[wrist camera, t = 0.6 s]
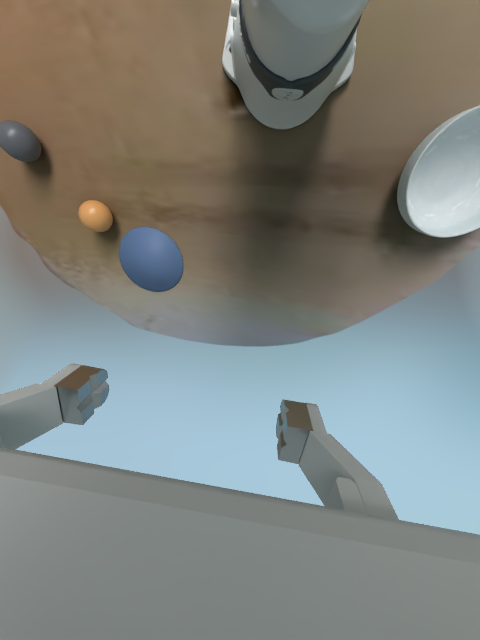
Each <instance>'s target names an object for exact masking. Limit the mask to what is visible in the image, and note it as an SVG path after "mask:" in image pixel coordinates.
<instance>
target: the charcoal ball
mask: <svg viewBox="0 0 480 640" xmlns="http://www.w3.org/2000/svg"><path fill="white" fill-rule="evenodd" d="M0 146H1V147H2V148H3V149H4V150H5V151H6V152H7V153H8V154H9V155H10V156H12V157H13V158H15V159H17V160H20V161H24V162H32V161H35V160H37V159H38V158H39V157H40V155H41V145H40V142H39V140H38V138H37V137H36V135H35V134H34V133H33V132H32V131H31V130H30V129H29V128H28V127H26V126H25V125H23V124H21V123H19V122H16V121H11V120H6V121H3V122H1V123H0Z"/></svg>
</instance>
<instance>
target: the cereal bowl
mask: <svg viewBox="0 0 480 640" xmlns="http://www.w3.org/2000/svg"><path fill="white" fill-rule="evenodd" d="M397 190H398V191H397V203H398V208H399V211H400V213H401V215H402V217H403V219H404V220H405V221H406V223H407V224H408V225H409V226H411V227H412V228H413V229H415V230H416V231H418V232H420V233H423V234H425V235H428V236H433V237H440V238H445V237H455V236H459V235H463V234H466V233H469V232H471V231H474V230H476V229H478V228H480V105H479V106H477V107H473V108H471V109H468V110H465V111H464V112H461V113H459V114H457V115H456V116H454V117H452V118H450V119H449V120H447V121H445V122H444V123H443V124H441V125H440V126H438V127H437V128H436V129H435V130H434V131H432V132H431V133H430V134H429V135H428V136H427V137H426V138H425V139H424V140H423V141H422V142H421V143H420V145H419V146H418V147H417V148H416V149H415V151H414V152H413V153H412V155H411V156H410V158H409V160H408V161H407V163H406V165H405V167H404V169H403V171H402V174H401V177H400V181H399V185H398V189H397Z"/></svg>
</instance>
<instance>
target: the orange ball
mask: <svg viewBox="0 0 480 640" xmlns="http://www.w3.org/2000/svg"><path fill="white" fill-rule="evenodd" d="M79 218H80V220H81V222H82V223H83V224H84V225H85V226H86V227H87V228H88V229H90V230H92V231H95V232H104V231H106V230H108V229H109V228H110V227H111V226H112V223H113V216H112V213H111V211H110V210H109V208H108V207H107V206H106V205H104V204H103V203H101V202H99V201H95V200H89V201H86V202H84V203H83V204H82V205H81V206H80V208H79Z"/></svg>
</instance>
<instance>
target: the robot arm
mask: <svg viewBox="0 0 480 640" xmlns="http://www.w3.org/2000/svg"><path fill="white" fill-rule="evenodd" d="M368 2H369V0H232V1H231V8H230V14H229V20H228V26H227V32H226V39H225V45H224V51H223V57H222V63H223V69H224V71H225V72H226V74H227V75H228V76H229V78H230V79H231V80H232V81H233V82H234V83H235V84H236V85H237V86H238V88H239V90H240V92H241V95H242V97H243V100H244V102H245V104H246V106H247V108H248V109H249V111H250V112H251V113H252V115H253V116H254V117H255V118H256V119H257V120H258V121H259V122H261V123H262V124H264V125H266V126H268V127H271V128H274V129H289V128H293V127H296V126H298V125H300V124H302V123H304V122H305V121H307V120H308V119H309V118H310V117H311V116H313V115H314V114H315V112H316V111H317V110H318V109H319V108H320V106H321V105H322V104H323V102H324V101H325V99H326V98H327V97H328V95H329V94H330V93H331V92H332V91H334V90H335V89H337V88H338V87H340V86H341V85H342V84H344V83H345V82H346V81H347V80H348V79H349V77H350V75H351V73H352V71H353V66H354V55H355V48H356V32H357V26H358V24H359V21H360V18H361V15H362V12H363V11H364V9H365V7H366V5H367V4H368ZM230 49H231V53H230ZM107 378H108V374H107V371H106V370H104V369H100V368H95V367H90V366H83V365H79V364H70V365H68V366H67V367H65V368H64V369H62V370H61V371H59V372H58V373H56V374H55V375H53V376H52V377H51V378H49V379H48V380H46V381H44V382H43V383H42V384H34V385H31V386H28V387H24V388H21V389H17V390H15V391H11V392H7V393H4V394H1V395H0V640H480V535H478V534H472V533H467V532H461V531H456V530H450V529H445V528H440V527H434V526H429V525H423V524H418V523H412V522H407V521H401V520H399V519H398V517H397V515H396V513H395V511H394V509H393V507H392V505H391V502H390V500H389V498H388V497H387V494H386V492H385V490H384V488H383V486H382V484H381V483H380V482H379V481H378V480H377V479H376V478H375V477H374V476H373V475H372V474H371V473H370V472H368V470H367V469H366V468H365V467H364V466H363V465H362V464H361V463H360V462H359V461H357V460H356V459H355V458H354V457H353V456H352V455H351V454H350V453H349V452H348V451H347V450H346V449H345V448H344V447H343V446H342V445H341V444H340V443H339V442H338V441H337V440H336V439H335V438H334V437H333V436H332V435H330V434H327V432H326V429H325V426H324V423H323V420H322V417H321V415H320V411H319V408H318V406H317V405H316V404H310V403H300V402H295V401H289V400H282V402H281V406H280V408H281V413H280V414H278V418H277V425H276V435H277V438H278V439H279V440H278V444H277V450H278V460H282V461H286V462H291V463H296V464H299V466H300V468H301V470H302V471H303V473H304V474H305V476H306V477H307V479H308V481H309V482H310V484H311V485H312V487H313V488H314V490H315V491H316V493H317V495H318V496H319V498H320V499H321V501H322V502H323V504H324V506H320V505H313V504H309V503H303V502H298V501H292V500H286V499H281V498H276V497H270V496H265V495H260V494H254V493H248V492H243V491H237V490H232V489H227V488H221V487H216V486H210V485H205V484H200V483H194V482H189V481H183V480H178V479H172V478H167V477H161V476H156V475H151V474H145V473H140V472H134V471H129V470H122V469H118V468H112V467H106V466H101V465H96V464H91V463H85V462H79V461H74V460H69V459H63V458H57V457H52V456H47V455H41V454H36V453H30V452H25V451H19V450H15V449H17V448H18V447H20V446H22V445H24V444H25V443H27V442H29V441H31V440H33V439H35V438H37V437H39V436H40V435H42V434H44V433H46V432H48V431H50V430H51V429H53V428H55V427H57V426H59V425H61V424H62V423H63V422H65V423H73V424H79V425H83V424H84V423H85V422H86V421H87V420H88V419H89V418H90V417H91V416H92V415H93V414H94V409H95V408H97V407H99V406H101V405H102V404H103V403H104V402H105V400H106V398H107V396H108V392H109V385H108V384H107V383H106V381H105V380H106V379H107Z"/></svg>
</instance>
